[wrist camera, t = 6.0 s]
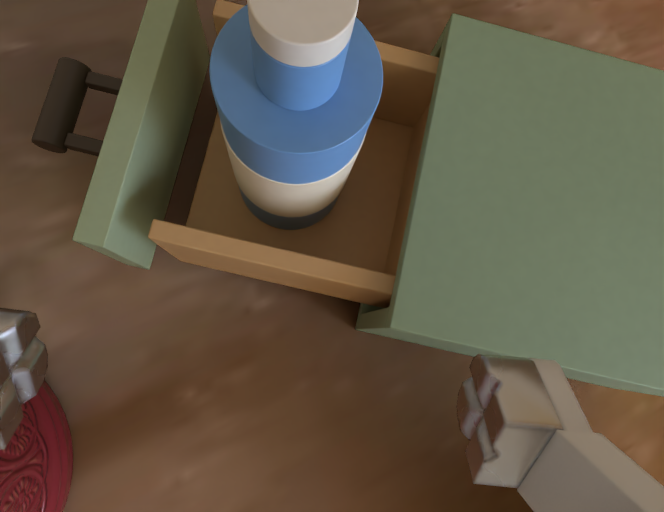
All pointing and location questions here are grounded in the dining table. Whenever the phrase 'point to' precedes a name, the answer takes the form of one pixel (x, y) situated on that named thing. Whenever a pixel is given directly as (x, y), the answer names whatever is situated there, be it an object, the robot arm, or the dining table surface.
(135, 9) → the dining table surface
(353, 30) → the bottle
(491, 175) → the cabinet
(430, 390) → the dining table surface
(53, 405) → the kitchen canister
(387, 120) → the drawer
